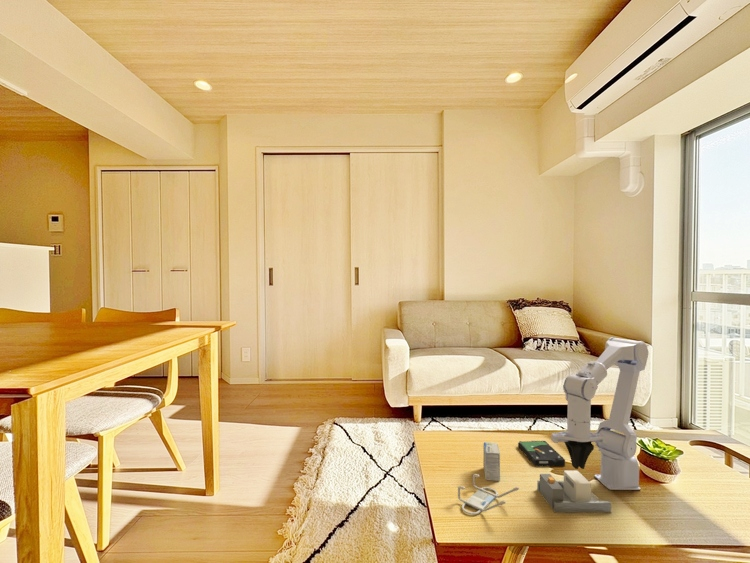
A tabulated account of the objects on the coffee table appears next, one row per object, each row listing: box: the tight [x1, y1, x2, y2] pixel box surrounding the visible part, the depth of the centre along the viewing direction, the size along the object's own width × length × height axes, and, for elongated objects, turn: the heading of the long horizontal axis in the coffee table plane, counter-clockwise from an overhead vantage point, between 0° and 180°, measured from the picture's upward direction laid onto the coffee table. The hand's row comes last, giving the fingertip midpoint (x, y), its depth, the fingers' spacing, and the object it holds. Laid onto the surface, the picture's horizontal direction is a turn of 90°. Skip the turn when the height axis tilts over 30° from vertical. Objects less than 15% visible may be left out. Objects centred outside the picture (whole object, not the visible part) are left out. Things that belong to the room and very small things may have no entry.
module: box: [563, 470, 592, 501], centre depth 109 cm, size 4×7×6 cm, turn 0°
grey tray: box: [536, 480, 612, 514], centre depth 109 cm, size 15×11×3 cm
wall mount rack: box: [457, 473, 520, 516], centre depth 106 cm, size 16×14×6 cm
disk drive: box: [517, 440, 566, 467], centre depth 136 cm, size 10×3×15 cm
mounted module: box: [539, 473, 564, 507], centre depth 109 cm, size 3×8×6 cm, turn 0°
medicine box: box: [482, 441, 501, 482], centre depth 122 cm, size 8×4×9 cm, turn 169°
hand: (578, 467), depth 108 cm, fingers closed
